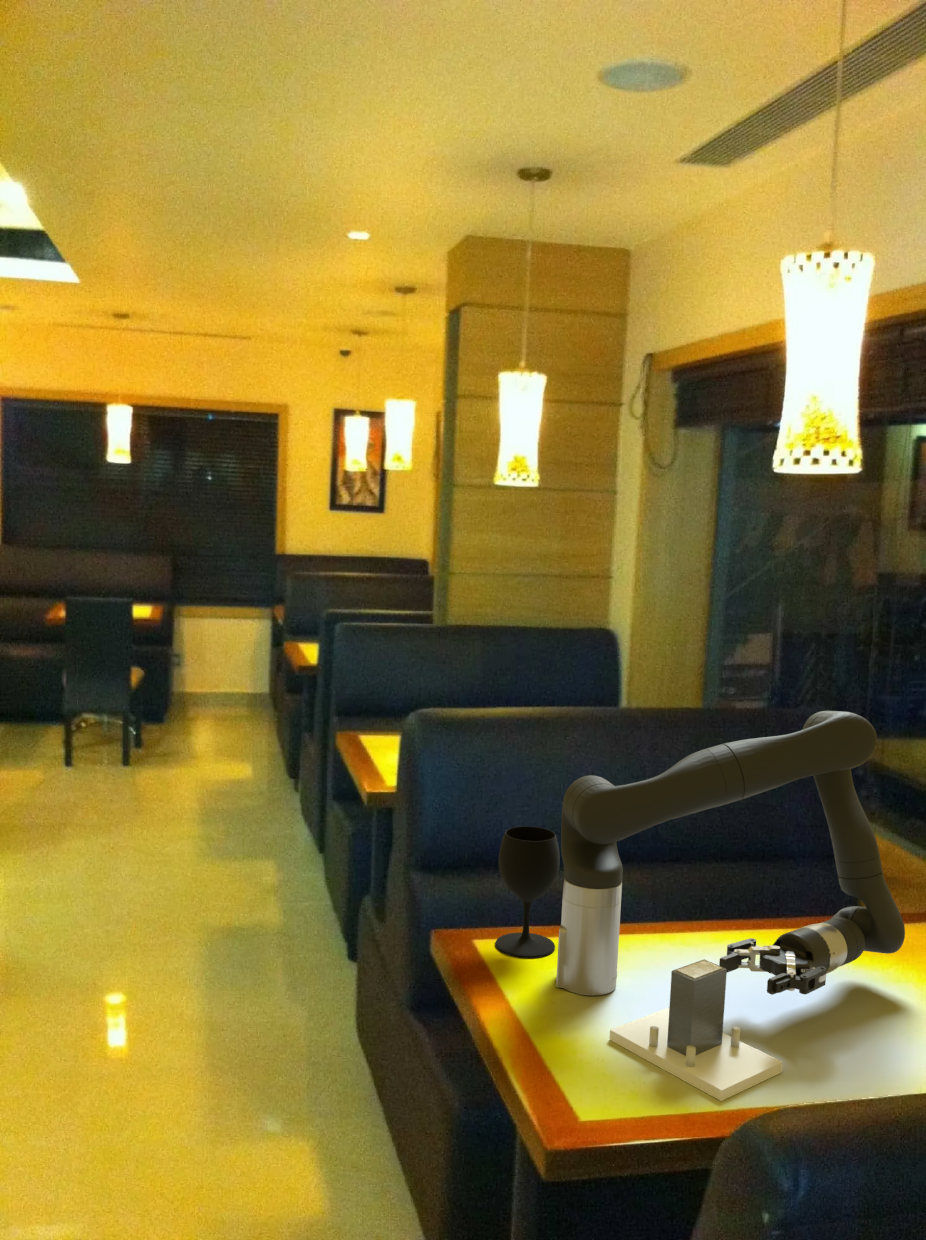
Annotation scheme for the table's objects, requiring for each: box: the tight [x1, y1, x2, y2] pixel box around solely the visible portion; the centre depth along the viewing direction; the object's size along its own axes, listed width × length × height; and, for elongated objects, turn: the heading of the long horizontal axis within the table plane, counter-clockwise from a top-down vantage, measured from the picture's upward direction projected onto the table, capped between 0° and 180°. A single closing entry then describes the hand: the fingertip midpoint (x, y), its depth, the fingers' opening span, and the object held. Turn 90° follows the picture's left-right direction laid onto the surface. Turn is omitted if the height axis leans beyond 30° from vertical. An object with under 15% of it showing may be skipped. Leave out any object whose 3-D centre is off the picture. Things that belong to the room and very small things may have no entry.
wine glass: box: [495, 825, 561, 959], centre depth 192 cm, size 10×10×20 cm
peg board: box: [609, 1007, 783, 1102], centre depth 157 cm, size 20×13×4 cm, turn 39°
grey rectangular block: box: [667, 959, 728, 1056], centre depth 156 cm, size 4×7×11 cm, turn 129°
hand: (744, 976), depth 163 cm, fingers open, 8 cm apart
